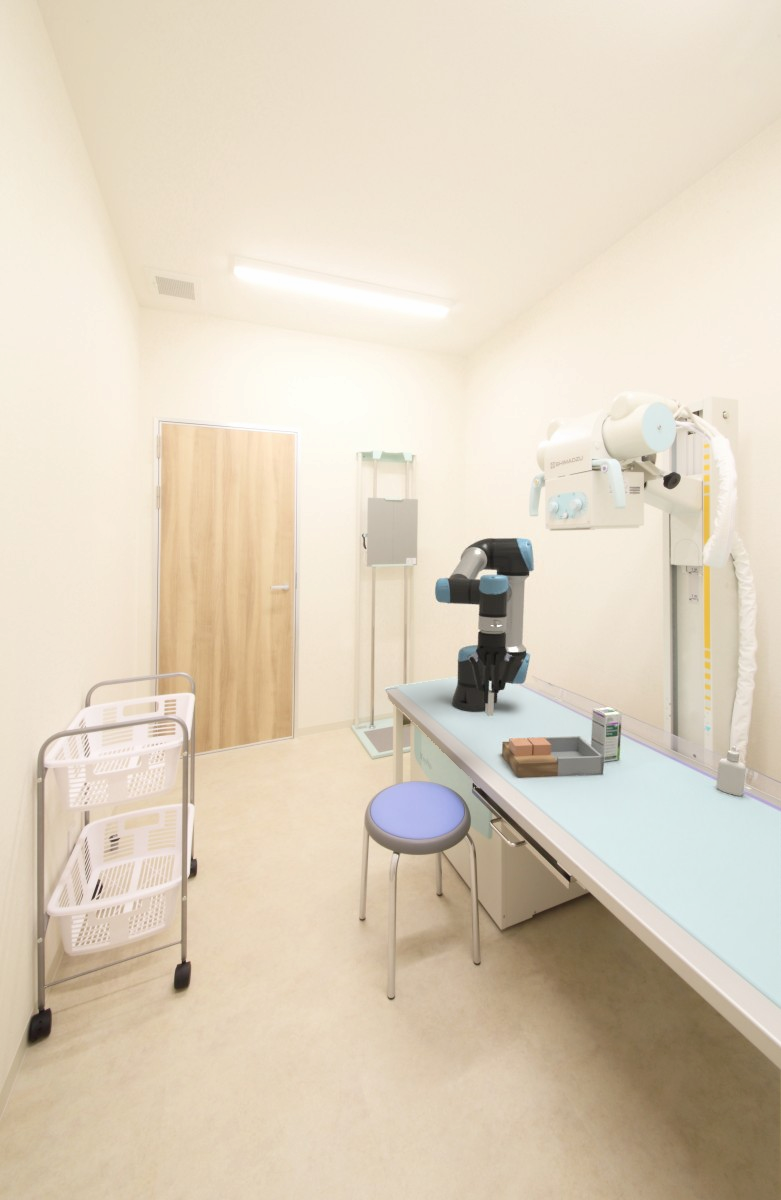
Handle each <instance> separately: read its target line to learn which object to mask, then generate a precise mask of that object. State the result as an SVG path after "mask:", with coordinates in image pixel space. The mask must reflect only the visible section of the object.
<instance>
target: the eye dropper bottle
mask: <svg viewBox="0 0 781 1200" xmlns="http://www.w3.org/2000/svg"><path fill="white" fill-rule="evenodd" d="M736 748H737V747H736V746H734V745H733V746H731V749H729V750H727V752H726V753H727V754H726V758H725V757H724V758H721V759H720V760H719V761H718V765H717V766H718V767H717V775H716V785H715V787H716V789H717V790H718V791H722V792H724V793H725V794H730V795H732V794H733V796H737V797H738V796H740V797H741V796H743V795H744V789H745V783H746V782H745V781H746V771H747V768H746V765H745V764H743V763H742V762H741V761H740V760H739V759H740V752H739V751H737V749H736Z"/></svg>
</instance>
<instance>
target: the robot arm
mask: <svg viewBox="0 0 781 1200" xmlns="http://www.w3.org/2000/svg"><path fill="white" fill-rule="evenodd" d="M483 570H485V571H487V570H489V571H490V570H491V571H494V570H495V571H496V574H482V575H481V576H480V578H479V579H477V578H478V575H479V574H480V572H482V571H483ZM534 570H535V565H534V551H533V545H532V542H531V540H530V539H529V538H519V537H516V538H515V537H512V538H508V537H507V538H505V537H504V538H500V537H499V538H496V537H495V538H492V537H489V538H482V539H480V540H477V541H475V542H473V543H471V544H470V545H469V546H467V547H465V549H464V550H463V551H462V553H461V554H460V561H459V563H458V564H457V565H456V567H455V569H454V570H453V572H452V573H451V574H450V576H449V578H448V577H439V578H438V579H437V580H436V581H435V585H434V586H435V587H434V595H435V599H436V601H437V602H438V603H443V604H445V603H446V604H454V605H455V604H456V605H457V604H459V605H478V626H477V628H478V630H479V631H478V632H477V644H474V645H466V646H464V647H461V648H460V649H459V651H458V655H457V656H458V657H457V685H456V688H455V691H454V694H453V697H452V705H453V707H455V708H457V709H459V710H461V711H462V710H463V711H467V712H483V711H484V713H485V714H486V716H488V717H492V716H494V709H495V708H494V705H495V704H497V703H498V694H499V692H500V691H504V690H505V689H506V688H505V687H506V684H512V685H513V684H514V685H522V684H524V683H525V681H526V680H527V674H528V670H529V665H530V658H531V654H530V653H528V652H527V647H526V646H525V645H524V644H523V637H524V635H523V632H524V612H525V611H524V607H525V581H526V580H527V578H529V577H530V572H533V571H534ZM490 682H491V685H490ZM490 688H491V689H490Z"/></svg>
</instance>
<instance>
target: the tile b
mask: <svg viewBox="0 0 781 1200" xmlns="http://www.w3.org/2000/svg"><path fill="white" fill-rule="evenodd" d="M526 738H527V740H528V741H529V742H530V743H531V744H532V745H533V746H532V754H533V755H551V744H550V743H549V742H548V741H547V740H546V739H545V738H544V737H543V736H542V737H541V736H540V737H526Z"/></svg>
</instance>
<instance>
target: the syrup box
mask: <svg viewBox="0 0 781 1200" xmlns="http://www.w3.org/2000/svg"><path fill="white" fill-rule="evenodd" d="M591 714H592V718H591V719H592V721H591V741H590V745H591V746H592V747H593V748H594V749H595V750H596V751H598V752H599V753H600V754H601V755H602V756H604V763H606V762H612V761H620V756H621V755H620V753H621V735H622V722H623V721H622V717H623V715H622V714H623V713H622V712H620V711H619V710H617V709H615V708H612V707H609V706H606V707H600V708H592V713H591Z"/></svg>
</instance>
